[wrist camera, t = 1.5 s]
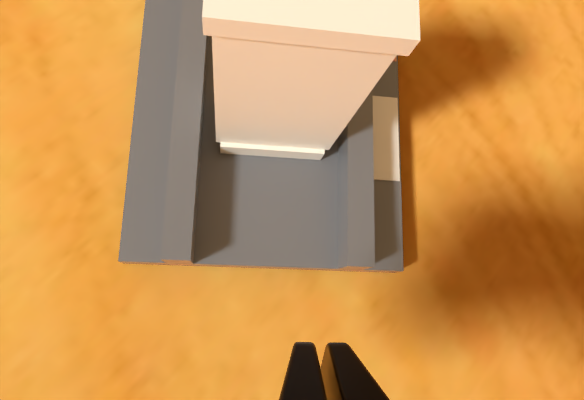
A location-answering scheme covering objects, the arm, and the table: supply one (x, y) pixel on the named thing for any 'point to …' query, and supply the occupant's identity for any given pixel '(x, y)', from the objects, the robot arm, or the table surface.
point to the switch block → (251, 173)
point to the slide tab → (299, 68)
